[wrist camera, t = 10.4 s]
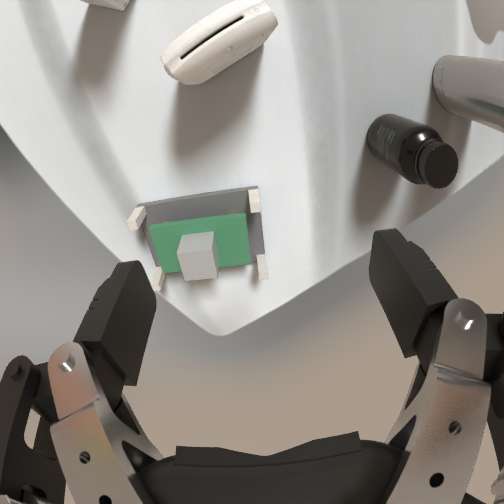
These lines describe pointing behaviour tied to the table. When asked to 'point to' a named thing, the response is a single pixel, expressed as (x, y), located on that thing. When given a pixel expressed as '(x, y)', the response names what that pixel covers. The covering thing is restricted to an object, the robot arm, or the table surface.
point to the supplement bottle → (413, 150)
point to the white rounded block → (218, 41)
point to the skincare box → (110, 3)
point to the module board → (224, 235)
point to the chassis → (199, 208)
